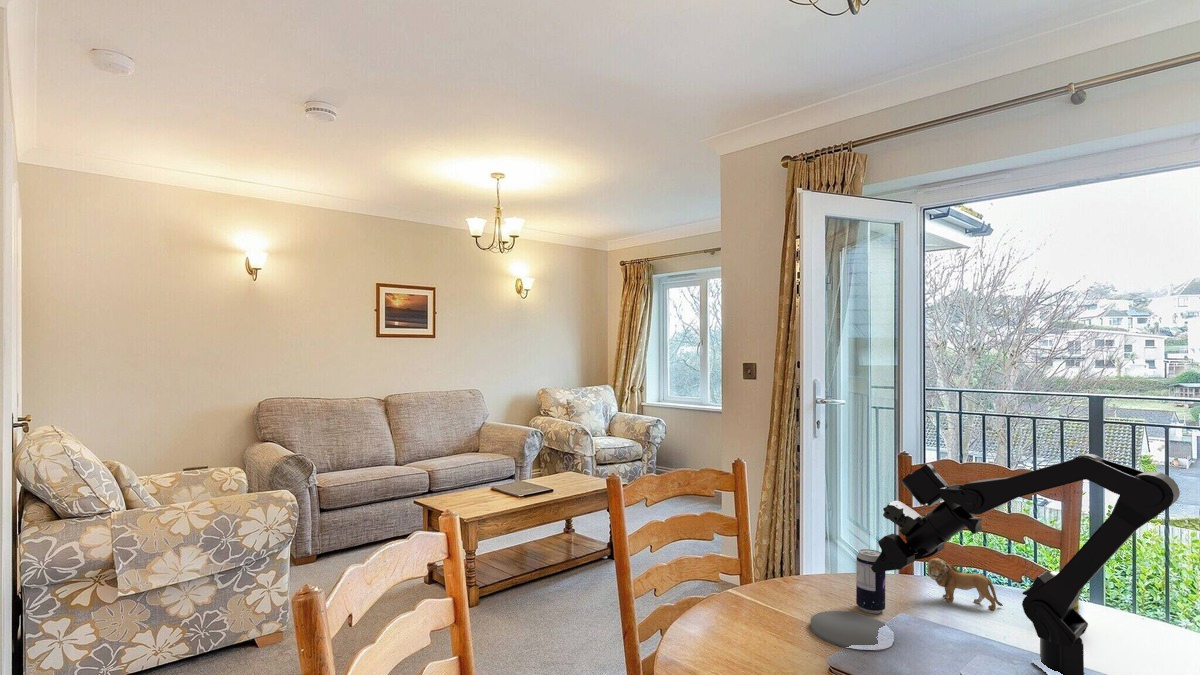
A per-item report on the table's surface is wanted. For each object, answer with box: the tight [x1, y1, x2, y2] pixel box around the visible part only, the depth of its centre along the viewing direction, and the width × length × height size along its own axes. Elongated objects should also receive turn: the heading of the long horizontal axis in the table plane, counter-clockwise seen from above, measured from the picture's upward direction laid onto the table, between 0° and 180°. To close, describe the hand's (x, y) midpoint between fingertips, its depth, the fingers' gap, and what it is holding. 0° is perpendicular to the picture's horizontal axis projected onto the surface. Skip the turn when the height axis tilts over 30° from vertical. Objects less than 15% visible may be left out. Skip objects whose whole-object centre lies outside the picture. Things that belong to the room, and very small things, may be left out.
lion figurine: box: [926, 557, 1004, 611], centre depth 135 cm, size 15×5×9 cm, turn 70°
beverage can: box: [855, 548, 886, 614], centre depth 130 cm, size 6×6×12 cm
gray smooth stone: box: [810, 610, 886, 649], centre depth 118 cm, size 15×15×1 cm
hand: (883, 566), depth 128 cm, fingers open, 9 cm apart
